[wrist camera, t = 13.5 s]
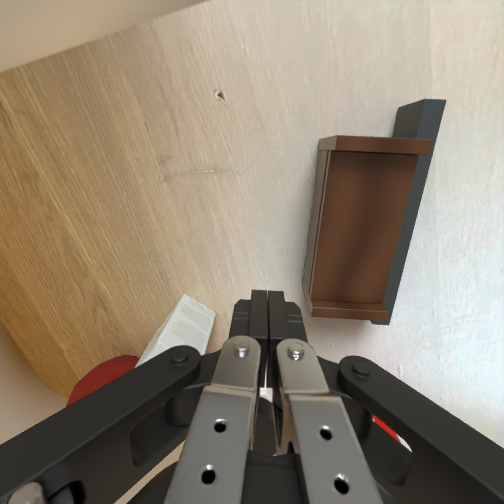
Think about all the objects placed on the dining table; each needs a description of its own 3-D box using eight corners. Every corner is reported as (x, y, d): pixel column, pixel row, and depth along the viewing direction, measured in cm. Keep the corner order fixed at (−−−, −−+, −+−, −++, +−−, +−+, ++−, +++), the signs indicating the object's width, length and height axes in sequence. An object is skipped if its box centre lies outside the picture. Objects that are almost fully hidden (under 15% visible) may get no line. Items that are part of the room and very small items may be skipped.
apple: (134, 402, 46) (94, 482, 35) (86, 361, 43) (25, 432, 32) (183, 372, 43) (155, 448, 32) (134, 326, 40) (86, 391, 29)
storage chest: (301, 283, 37) (311, 316, 29) (319, 139, 31) (337, 135, 23) (361, 286, 37) (386, 321, 29) (391, 142, 30) (433, 139, 23)
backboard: (358, 302, 37) (372, 324, 33) (398, 107, 29) (424, 98, 24) (373, 303, 37) (389, 325, 33) (417, 107, 29) (446, 99, 24)
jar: (212, 351, 41) (193, 426, 30) (259, 329, 40) (257, 400, 28) (242, 391, 44) (235, 474, 33) (287, 372, 42) (296, 453, 31)
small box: (188, 348, 41) (165, 410, 31) (156, 329, 40) (121, 387, 30) (218, 312, 39) (202, 367, 29) (184, 291, 38) (157, 340, 28)
